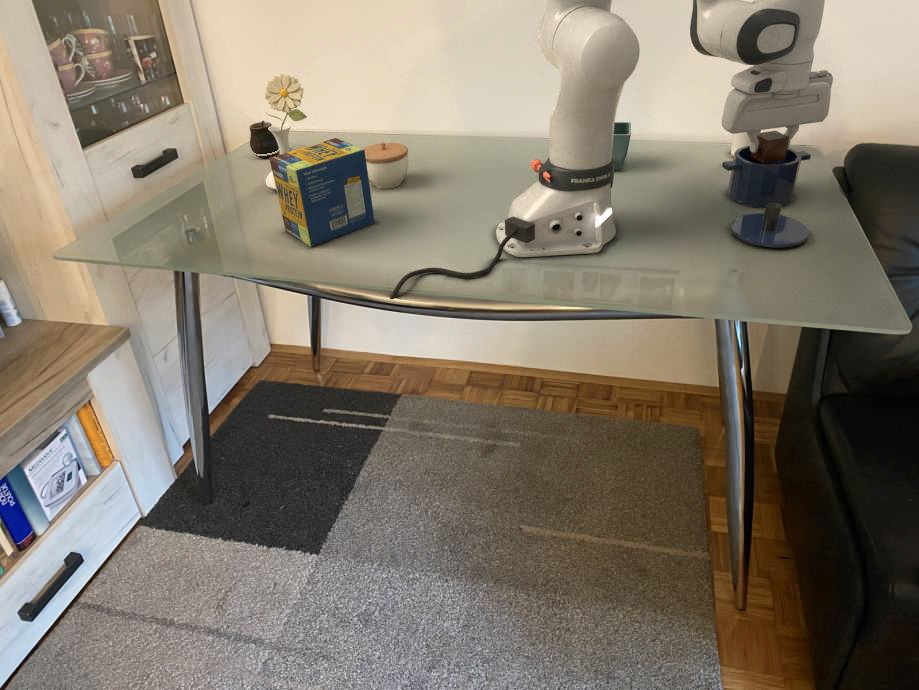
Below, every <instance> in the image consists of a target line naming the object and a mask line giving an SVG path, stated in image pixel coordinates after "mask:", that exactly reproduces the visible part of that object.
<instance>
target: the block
mask: <svg viewBox="0 0 919 690" xmlns="http://www.w3.org/2000/svg"><path fill="white" fill-rule="evenodd" d="M784 134H785V133H782V132H780V131H778V130H771V131H770V130H769V131H763V132H762V131H761V132H760V135H759V136H757V139H758V141H759V142H761V143H763V144H762V150H761V152H756V153H753V152H751V156H752V157H753V158H755V159H757V160H758V161H760V162H762V163H769V162H776V161H783V160H785V156H786V151H787V146H788V141H789V137H787V136H785V135H784Z"/></svg>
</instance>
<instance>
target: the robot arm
mask: <svg viewBox="0 0 919 690" xmlns="http://www.w3.org/2000/svg"><path fill="white" fill-rule="evenodd" d="M612 3H613V0H547V1H546V5H545V10H544V13H543V15H542V17H541V19H540V21H539V24H538V27H537V42H538V45H539V48H540V50H541V52H542V54H543V56H544V58H545V60H546V61H547V62H548V63H549V64H550V65H551V66H552V67H554V68H556V69H557V70H559V75H560V82H559V90H558V93H557V99H556V102H555V106H554V108H553V110H552V111H551V112H550V115H549V150H548V151H549V153H548V154H549V157H547V159H546V160H545V162H542V161H541V160H540V159H538V158H534V159H532V161H531V162H530V168H531V169H532V170H533V171H534V173H537V174H538V180H537V181H536V182H534V183H533V184H531V185H530V186H529V187H528V188H527V189H526V190H524V191H523V192H522V193H521V194H519V195H518V196H517V197H515V199H513V200H512V202H511V203H510V206H509V209H508V213H507V218H506V219H505V220H504V221H502V222H499V224H498V225H497V227H496V231H495V236H496V240H497V242H498V244H499V246H498V249H497V252H496V255H495V256H494V258H493V259H492V261H491V262H490V264H489V265H488V266H487V267H486V268H484V269H481V270H477V271H471V272H462V271H457V270H451V269H447V268H442V267H425V268H421V269H417V270H414V271H411V272H409V273H407V274H405V275H404V276H402V278H401V279H400V280H399V281H398V283H397V284H396V286H395V287H394V289H393V291H392V293H391V294H390V297H389V300H394V299H396V297H397V295H398V293H399V292H400V291H401V289H402V287H403V285H404V284H405V283H406V282H407V281H408V280H409V279H411V278H413V277H416V276H420V275H424V274H428V273H429V274H430V273H438V274H444V275H449V276H453V277H458V278H466V279H468V278H476V277H481V276H482V275H486V274H488V273H490V272H491V270H493V268H494V266H495V265H496V264H497V263H498V262H499V260H500V259H501V257H502V255H503V251H505V252H506V253H508V254H510V255H512V256H514V257H517V258H532V257H535V258H536V257H550V256H566V255H567V256H569V255H583V254H597V253H599V252H601V250H602V249H603V247H604V245H606V244H608V243H609V242H610V241H612V240H613V239H614V238H615V237H616V234H617V228H616V225H615V220H614V214H613V205H612V188H613V185H614V177H615V170H614V158H613V157H612V150H613V136H614V123H615V122H616V115H617V110H618V107H619V106H618V105H619V102H620V99H621V95H622V93H623V89H624V87H625V83H626V82H627V81H628V79H629V78H630V77H631V76H632V75H633V73H634V72H635V70H636V68H637V65H638V63H639V59H640V53H641V51H640V43H639V39H638V37H637V35H636V33H635V32H634V30H633V29H632V27H631V26H630V25H629V24H628V23H627V22H626V20H625V19H624V18H623V17H621V16H619V15H618V14H616V13H613V12H611V8H612ZM825 3H826V1H825V0H752V1H747V0H692V12H691V18H690V24H689V37H690V42H691V44H692V46H693V47H694V49H695V50H696V51H697V52H698V53H699V54H701V55H702V56H703V55H704V56H707V57H714V58H721V59H723V60H727V61H730V62H733V63H738V64H742V65H745V66H750V67H748V68H746V69H744V70H741V71H740V72H738V73H735V74H734V75H732V76H731V79H730V86H731V87H733V89H731V90H730V91H729V93H728V95H727V96H726V99H725V102H724V107H723V110H722V117H721V126H722V128H723V129H724V131H726V132H728V133H729V134H732V135H733V134H736V133H743V132H747V135H748V137H749V139H750V142H751V145H750V151H751V152H753V153H756V152H761V150H762V144H763V143H761V142H759V141H758V139H757V136H759V135H760V133H761V132H760V130H761V131H763V130H765V131H766V130H770V129H772V130H773V129H780V128H786V131H785V132H784V133H783V134H784V135H785V136H787V137H789V141H788V146H787V148H789V149H790V146H791V141H792V139H793V138H794V137H795V136H796V134H797V133H798V132H799V128H800V126H801V125H808V124H815V123H822V122H824V121H825V120H826V118H827V117H828V115H829V112H830V107H831V95H832V90H831V89H832V86H833V83H834V76H833V75H832V73H831V72H829V71H828V70H826V69H823V70H822V69H821V70H818V71H812V68H813V63H814V58H815V51H814V47H815V43H816V41H817V38H818V36H819V34H820V29H821V26H822V21H823V16H824V9H825Z"/></svg>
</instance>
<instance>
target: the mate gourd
mask: <svg viewBox="0 0 919 690" xmlns="http://www.w3.org/2000/svg"><path fill="white" fill-rule="evenodd" d="M272 125H273V124H272V123H271V122H269V121H265V120H261V121H259V122H254V123H252V124H251V125H249V132H250V137H249V147H250V150H251V151H252V152H254V153H256V154H267V153H272V152H275V151H277V150H278V149H279V146H278V143H277V141H276V138H275V136H274V135H273V134H272V132H271V131H270V130H269V129H268V128H269V127H270V126H272ZM254 153H253V154H254ZM278 153H279V151H278V152H277V153H275V154H272V155H267V156H257V155H255V156H256V157H258V158H261V159H269V158H270V157H274V156H277V155H278Z"/></svg>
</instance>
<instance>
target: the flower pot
mask: <svg viewBox="0 0 919 690" xmlns="http://www.w3.org/2000/svg"><path fill="white" fill-rule="evenodd" d="M631 135H632V123H631V122H630V121H615V123H614V136H613V150H612V157H613V158H614V171H619V170H621V168H622V166H623V165H624V163H625V162H626V159H627V156H628V151H629V145H630V141H631Z"/></svg>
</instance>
